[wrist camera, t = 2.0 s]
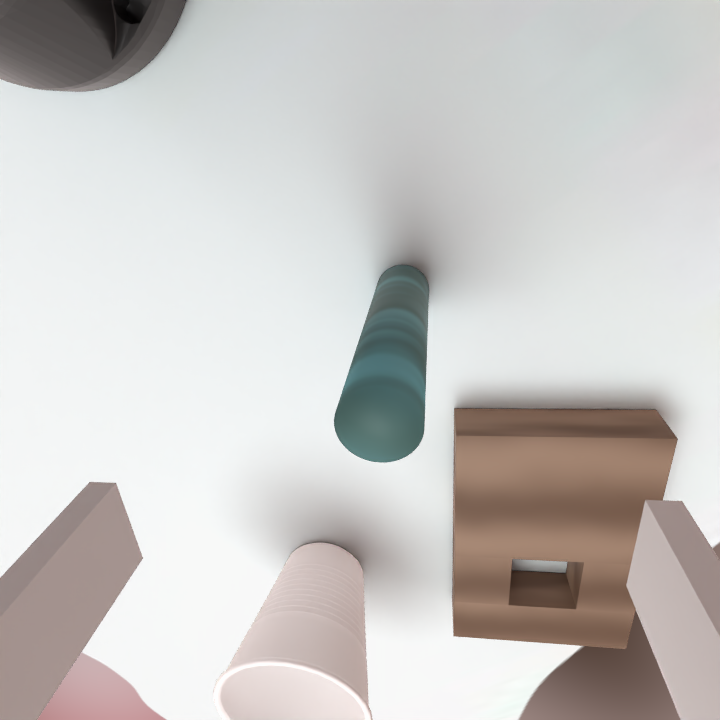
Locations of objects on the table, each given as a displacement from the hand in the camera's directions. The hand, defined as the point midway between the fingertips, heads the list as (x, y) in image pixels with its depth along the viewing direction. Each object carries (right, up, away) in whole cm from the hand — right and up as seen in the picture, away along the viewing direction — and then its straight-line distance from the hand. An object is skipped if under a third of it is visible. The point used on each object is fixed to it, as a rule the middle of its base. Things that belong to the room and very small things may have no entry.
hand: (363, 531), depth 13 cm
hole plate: (+13, -7, +22) cm, 27 cm away
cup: (-3, -12, +28) cm, 30 cm away
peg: (+2, +8, +16) cm, 19 cm away
